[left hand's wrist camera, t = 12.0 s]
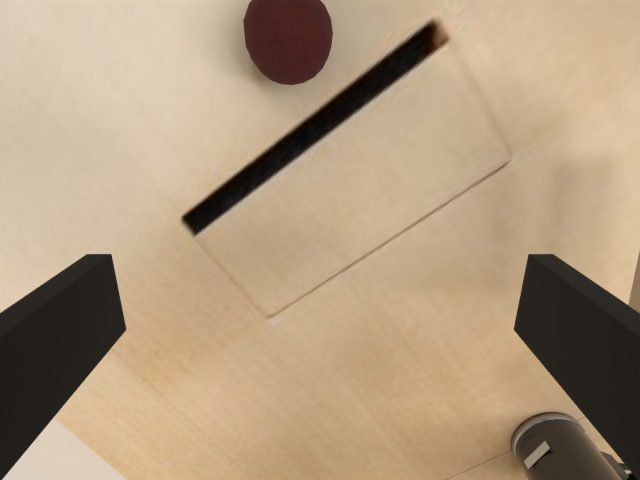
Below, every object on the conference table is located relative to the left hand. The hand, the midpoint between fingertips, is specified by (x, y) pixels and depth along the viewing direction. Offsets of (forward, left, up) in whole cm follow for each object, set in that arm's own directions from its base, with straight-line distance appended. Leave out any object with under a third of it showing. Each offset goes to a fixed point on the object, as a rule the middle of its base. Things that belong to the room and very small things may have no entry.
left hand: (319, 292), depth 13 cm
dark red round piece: (-11, -3, -29) cm, 31 cm away
